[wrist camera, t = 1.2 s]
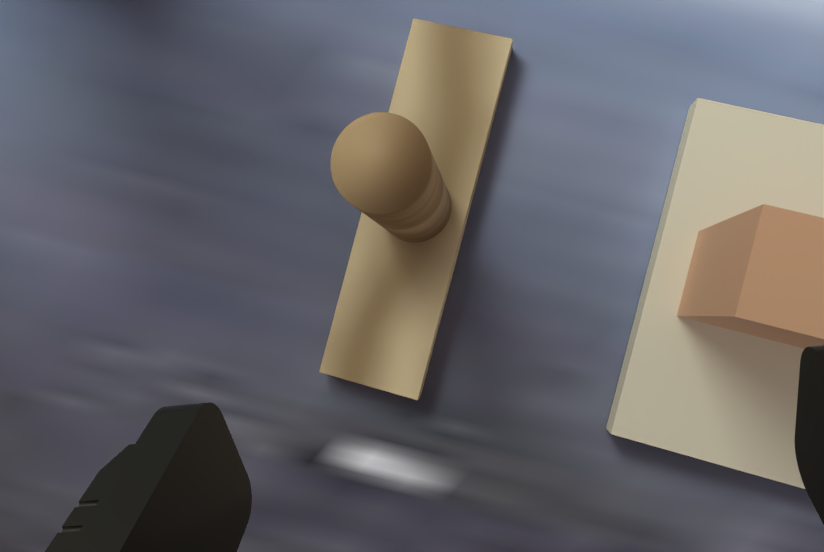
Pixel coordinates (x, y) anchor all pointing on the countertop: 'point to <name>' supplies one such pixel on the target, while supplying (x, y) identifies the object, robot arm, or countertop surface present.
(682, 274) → the stand
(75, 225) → the countertop surface
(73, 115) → the countertop surface
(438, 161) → the bar
